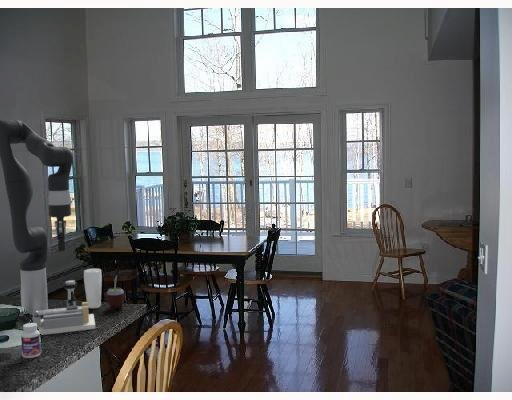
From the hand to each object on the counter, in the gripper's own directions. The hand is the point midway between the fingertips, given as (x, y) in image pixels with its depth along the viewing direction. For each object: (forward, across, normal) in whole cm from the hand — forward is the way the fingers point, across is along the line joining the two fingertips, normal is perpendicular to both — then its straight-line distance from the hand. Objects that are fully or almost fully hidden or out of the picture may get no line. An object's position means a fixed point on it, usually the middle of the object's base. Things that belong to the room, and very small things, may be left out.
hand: (61, 250), depth 196 cm
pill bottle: (+27, -28, +10) cm, 40 cm away
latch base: (+27, -3, +1) cm, 27 cm away
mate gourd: (+27, +11, -19) cm, 35 cm away
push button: (+27, +22, -2) cm, 35 cm away
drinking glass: (+27, +18, -11) cm, 34 cm away
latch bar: (+22, -3, +1) cm, 22 cm away
